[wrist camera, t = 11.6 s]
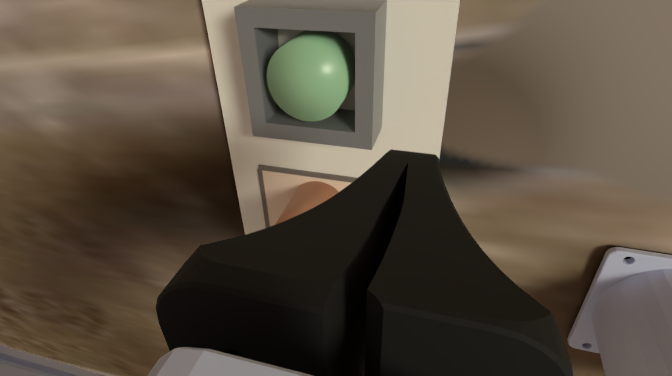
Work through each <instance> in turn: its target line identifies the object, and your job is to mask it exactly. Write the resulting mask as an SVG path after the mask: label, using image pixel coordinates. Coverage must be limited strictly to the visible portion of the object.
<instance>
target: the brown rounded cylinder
mask: <svg viewBox="0 0 672 376" xmlns="http://www.w3.org/2000/svg"><path fill="white" fill-rule="evenodd" d="M338 192H339V191H337V190H336V189H335V188H334V187H332V186H331V185H329V184H327V183H324V182H319V181H310V182H306V183H304V184H302V185H301V186H300V187H299V188H298V189H297V191H296V192H295V194H294V195H293V197H292V198H291V200H290V202H289V203H288V205H287V206H286V208H285V209H284V211H283V213H282V214H281V216H280V217H279V219H278V220H277V222H276V223H275V225H276V224H279V223H281V222H284V221H286V220H288V219H290V218H293V217H295V216H297V215H299V214H302V213H304V212H306V211H308V210H310V209H312V208H314V207H316V206H317V205H319V204H321V203H323V202H325V201H326V200H328V199H330V198H331V197H333V196H334V195H336V194H337V193H338Z"/></svg>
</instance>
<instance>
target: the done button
mask: <svg viewBox="0 0 672 376" xmlns="http://www.w3.org/2000/svg"><path fill="white" fill-rule="evenodd" d="M267 83H268V88H269V91H270V93H271V95H272V97H273V99H274V100H275V102H276V103H277V105H278V106H279V107H280V108H281V109H282V110H283V111H284V112H286V113H287V114H289V115H290V116H292V117H294V118H296V119H299V120H303V121H311V122H313V121H320V120H323V119H326V118H328V117H330V116H331V115H332V114H334V113H335V112H336V111H337V109H338V108H339V107H340V105H341V104H342V102H343V101H344V99H345V98H346V97H347V95H348V94H349V92H350V91H351V89H352V88H353V86H354V84H355V55H354V53H353V51H352V49H351V47H350V46H349V44H348V43H347V42H346V41H345V40H344V39H343V38H342V37H341V36H339V35H338V34H336V33H334V32H330V31H310V30H305V31H303V32H301V33H299V34H298V35H296V36H295V37H294V38H292V39H291V40H290V41H288V42H287V43H286V44H284V45H283V46H282V47H280V48H279V49H278V50H277V51H276V52H275V53H274V54H273V56H272V57H271V59H270V61H269V64H268V68H267Z"/></svg>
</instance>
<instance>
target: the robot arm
mask: <svg viewBox="0 0 672 376" xmlns="http://www.w3.org/2000/svg"><path fill="white" fill-rule="evenodd" d="M625 257H631V258H630V259H624V258H625ZM156 311H157V316H158V320H159V324H160V327H161V329H162V332H163V334H164V337H165V340H166V342H167V345H168V347H169V350H170V352H168V353H167V354H165V355H163V356H162V357H160V358H159V360H158V361H157V363H156V364H155V365H154V367H153V368H152V370H151V371H150V372H149V374H148V375H147V376H363V375H364V376H573V371H572V367H571V363H570V359H569V356H568V353H567V350H566V347H565V344H564V341H563V338H562V336H561V333H560V330H559V328H558V325H557V323H556V321H555V318H554V316H553V314H552V313H551V312H550V311H549V310H547V309H546V308H545V307H544V306H542V305H541V304H540V303H539V302H537V301H536V300H535V299H533V298H532V297H531V296H530V295H528V294H527V293H526V292H524V291H523V290H522V289H521V288H519V287H518V286H517V285H516V284H515V283H514V282H513V281H512V280H511V279H509V278H508V277H507V276H506V275H505V274H504V273H503V272H502V271H501V270H500V269H499V268H498V267H497V266H496V265H495V264H494V263H493V262H492V260H491V259H490V258H489V257H488V256H487V255H486V254H485V253H484V252H483V250H482V249H481V248H480V246H479V245H478V244H477V242H476V241H475V240H474V238H473V237H472V236H471V234H470V233H469V231H468V230H467V228H466V227H465V225H464V223H463V222H462V220H461V218H460V217H459V215H458V213H457V211H456V209H455V207H454V205H453V203H452V201H451V199H450V197H449V194H448V192H447V189H446V187H445V184H444V181H443V178H442V175H441V171H440V166H439V158H438V157H437V156H436V155H435V154H426V153H418V152H409V151H401V150H392V149H391V150H389V151H388V152H387V153H386V154H385V155H383V156H382V157H381V158H380V159H379V160H378V161H377V162H376V163H375V164H374V165H373V166H371V167H370V168H369V169H368V170H367V171H366V172H364V173H363V174H362V175H361V176H360V177H358V178H357V179H356V180H355V181H353V182H352V183H351V184H350V185H348V186H347V187H345V188H344V189H343V190H341V191H340V192H338V193H337V194H336V195H334V196H333V197H331V198H330V199H328V200H326V201H325V202H323V203H321V204H319V205H317V206H316V207H314V208H312V209H310V210H308V211H306V212H304V213H302V214H299V215H297V216H295V217H293V218H290V219H288V220H286V221H284V222H281V223H279V224H276V225H273V226H271V227H268V228H265V229H262V230H259V231H256V232H253V233H250V234H246V235H243V236H239V237H235V238H231V239H227V240H222V241H218V242H214V243H210V244H205V245H200V246H199V248H198V249H197V250H196V251H195V252H194V253H193V254H192V255H191V256H190V257H189V259H188V260H187V261H186V262H185V263H184V265H183V266H182V267H181V268H180V270H179V271H178V272H177V273H176V275H175V276H174V277H173V278H172V280H171V281H170V282H169V283H168V285H167V286H166V287H165V289H164V290H163V291H162V292H161V294H160V295H159V296H158V298H157V304H156ZM568 344H569V346H571V347H572V348H575V349H580V350H585V351H589V352H594V353H599V354H600V357H601V361H602V365H603V369H604V372H605V376H672V255H668V254H661V253H655V252H648V251H642V250H635V249H629V248H622V247H613V248H610V249H608V250H607V251H606V253H605V255H604V257H603V259H602V261H601V264H600V266H599V268H598V270H597V273H596V275H595V277H594V279H593V282H592V284H591V286H590V288H589V291H588V293H587V295H586V297H585V300H584V302H583V304H582V306H581V309H580V311H579V313H578V315H577V318H576V320H575V322H574V324H573V327H572V329H571V331H570V333H569V336H568ZM364 370H365V373H364ZM0 376H104V375H101V374H97V373H94V372H91V371H87V370H84V369H80V368H77V367H74V366H70V365H67V364H63V363H60V362H57V361H53V360H50V359H46V358H43V357H40V356H36V355H33V354H29V353H26V352H22V351H19V350H16V349H12V348H9V347H5V346H2V345H0Z"/></svg>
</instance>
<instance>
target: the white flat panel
mask: <svg viewBox="0 0 672 376" xmlns="http://www.w3.org/2000/svg"><path fill="white" fill-rule="evenodd" d="M246 1H248V0H202V4H203V10H204V15H205V21H206V26H207V31H208V37H209V42H210V48H211V53H212V58H213V64H214V69H215V75H216V80H217V86H218V91H219V96H220V102H221V107H222V113H223V118H224V123H225V129H226V134H227V140H228V145H229V151H230V156H231V161H232V167H233V172H234V178H235V183H236V188H237V194H238V199H239V205H240V210H241V216H242V221H243V226H244V232H245V235H246V234H250V233H253V232H256V231H259V230H262V229H265V228H268V227H271V226H273V225H275V223H276V222H277V220H278V219H279V217H280V216H281V214H282V213H283V211H284V209H285V208H286V206H287V205H288V203H289V202H290V200H291V198H292V197H293V195H294V194H295V192H296V191H297V189H298V188H299V187H300V186H301V185H302V184H304V183H306V182H310V181H319V182H324V183H327V184H329V185H331V186H332V187H334V188H335V189H336V190H337V191H339V192H340V191H341V190H343V189H344V188H345V187H347V186H348V185H350V184H351V183H352V182H353V181H355V180H356V179H357V178H358V177H360V176H361V175H362V174H363V173H364V172H366V171H367V170H368V169H369V168H370V167H371V166H373V165H374V164H375V163H376V162H377V161H378V160H379V159H380V158H381V157H382V156H383V155H385V154H386V153H387V152H388V151H389V150H391V149H392V150H401V151H409V152H418V153H426V154H435V155H436V156H437V157H438V158H439V159H440V151H441V143H442V135H443V128H444V120H445V113H446V105H447V97H448V89H449V82H450V74H451V67H452V59H453V51H454V44H455V36H456V28H457V21H458V13H459V5H460V0H387V15H386V39H385V63H384V88H383V112H382V128H381V131H380V133H379V135H378V137H377V140H376V142H375V144H374V146H373V149H372V150H367V149H358V148H350V147H341V146H333V145H324V144H316V143H307V142H299V141H290V140H282V139H273V138H265V137H257V136H253V134H252V127H251V120H250V113H249V106H248V99H247V93H246V86H245V79H244V72H243V65H242V59H241V52H240V45H239V38H238V31H237V24H236V18H235V11H234V7H235V6H237V5H239V4H241V3H244V2H246ZM277 30H278V40H279V48H280V47H282V46H283V45H284V44H286V43H287V42H288V41H290V40H291V39H292V38H294V37H295V36H296V35H298V34H299V33H301V32H303V31H305V30H291V29H277ZM334 33H336V34H338V35H339V36H341V37H342V38H343V39H344V40H345V41H346V42H347V43H348V44H349V46H350V47H351V49H352V51H353V53H354V55H355V33H350V32H334ZM338 109H346V110H355V84H354V86H353V88H352V89H351V91H350V92H349V94H348V95H347V97H346V98H345V99H344V101H343V102H342V104H341V105H340V107H339V108H338Z"/></svg>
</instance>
